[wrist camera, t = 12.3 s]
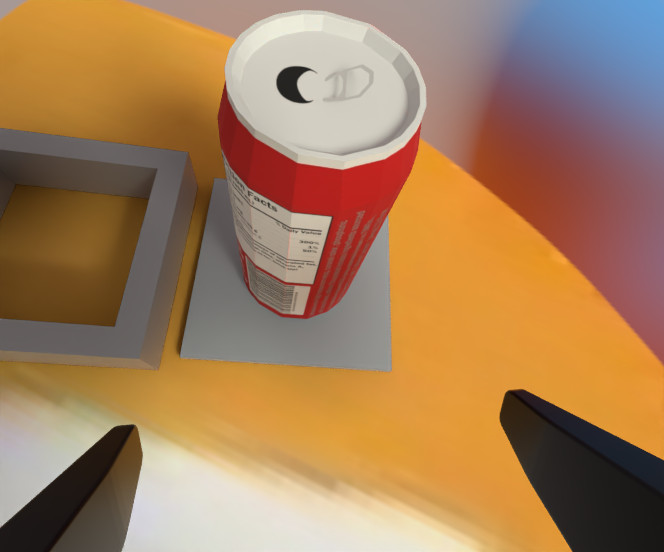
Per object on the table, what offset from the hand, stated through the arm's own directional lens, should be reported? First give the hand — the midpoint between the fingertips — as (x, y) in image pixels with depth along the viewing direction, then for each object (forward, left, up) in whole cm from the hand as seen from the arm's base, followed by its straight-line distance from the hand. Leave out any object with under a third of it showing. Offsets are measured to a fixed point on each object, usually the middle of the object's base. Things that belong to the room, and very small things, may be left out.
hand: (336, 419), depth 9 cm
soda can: (+8, +1, -9) cm, 12 cm away
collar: (+7, +12, -9) cm, 17 cm away
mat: (+8, +1, -9) cm, 12 cm away
